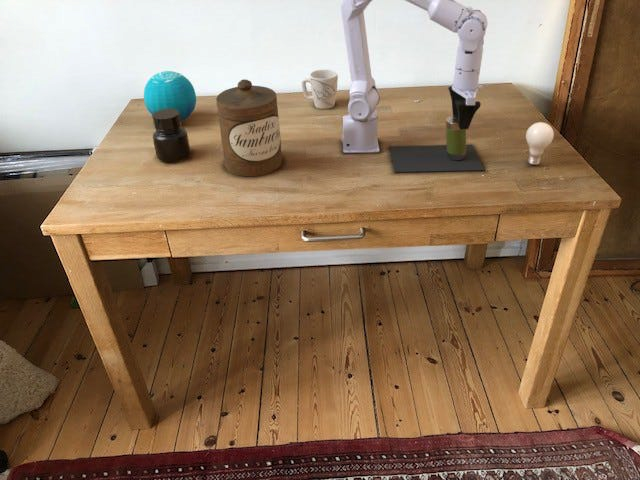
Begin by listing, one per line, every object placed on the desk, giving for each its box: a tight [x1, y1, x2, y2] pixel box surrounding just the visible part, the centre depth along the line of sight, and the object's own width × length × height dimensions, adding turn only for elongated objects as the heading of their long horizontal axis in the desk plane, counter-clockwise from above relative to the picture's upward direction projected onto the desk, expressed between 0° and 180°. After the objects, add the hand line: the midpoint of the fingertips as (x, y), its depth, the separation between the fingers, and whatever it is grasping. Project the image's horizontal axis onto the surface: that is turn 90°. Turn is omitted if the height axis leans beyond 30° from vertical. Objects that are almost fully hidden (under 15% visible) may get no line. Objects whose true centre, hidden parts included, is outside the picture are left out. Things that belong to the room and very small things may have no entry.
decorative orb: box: [143, 70, 197, 123], centre depth 161 cm, size 15×15×15 cm
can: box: [445, 114, 467, 160], centre depth 138 cm, size 5×5×10 cm
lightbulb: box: [525, 121, 555, 166], centre depth 134 cm, size 6×6×11 cm
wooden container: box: [215, 78, 283, 177], centre depth 136 cm, size 15×15×22 cm
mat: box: [389, 144, 485, 174], centre depth 141 cm, size 22×14×1 cm, turn 90°
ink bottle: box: [151, 109, 192, 164], centre depth 143 cm, size 10×9×12 cm
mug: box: [301, 69, 339, 110], centre depth 170 cm, size 11×8×10 cm
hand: (460, 122), depth 135 cm, fingers open, 7 cm apart
